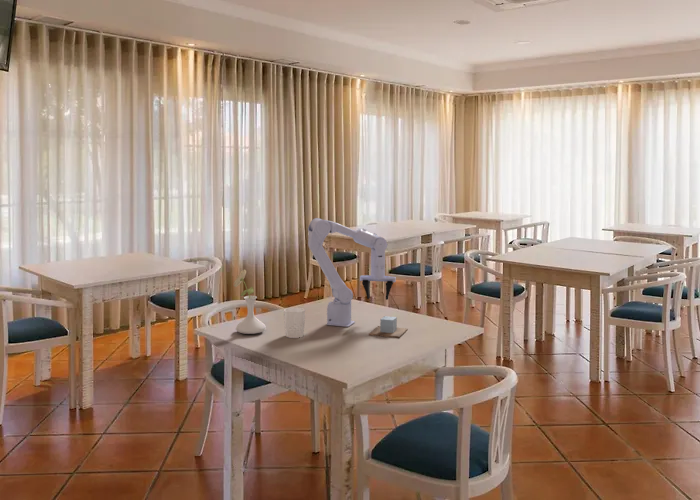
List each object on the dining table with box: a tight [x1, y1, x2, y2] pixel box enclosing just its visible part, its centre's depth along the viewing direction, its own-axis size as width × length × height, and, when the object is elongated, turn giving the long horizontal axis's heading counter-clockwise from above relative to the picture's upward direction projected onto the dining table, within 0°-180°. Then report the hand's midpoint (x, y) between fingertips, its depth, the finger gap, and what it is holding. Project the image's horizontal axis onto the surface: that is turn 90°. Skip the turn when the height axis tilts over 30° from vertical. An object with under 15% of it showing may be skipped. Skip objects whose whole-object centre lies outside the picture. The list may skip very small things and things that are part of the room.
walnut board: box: [368, 325, 409, 339], centre depth 242 cm, size 12×12×1 cm
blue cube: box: [379, 315, 398, 333], centre depth 242 cm, size 5×5×5 cm
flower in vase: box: [233, 269, 267, 335], centre depth 240 cm, size 13×11×25 cm
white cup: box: [283, 307, 306, 339], centre depth 237 cm, size 8×8×10 cm
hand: (377, 298), depth 258 cm, fingers open, 7 cm apart
